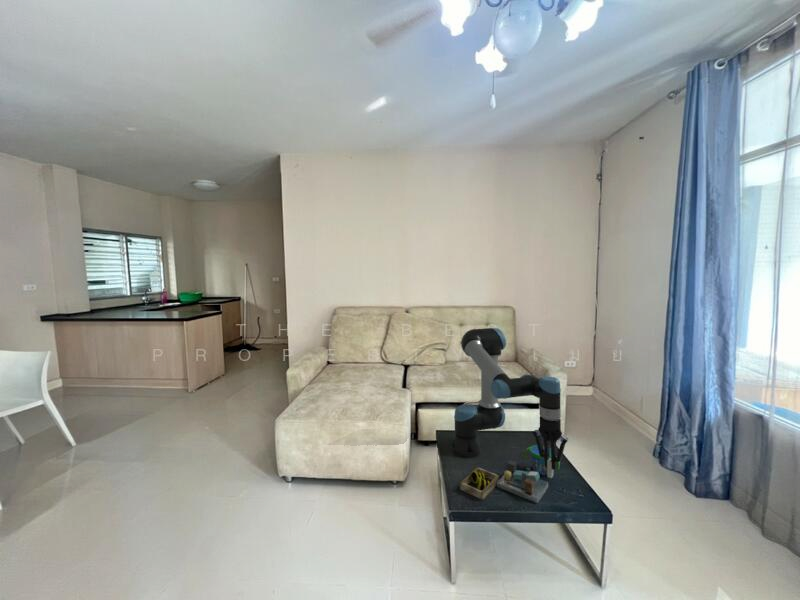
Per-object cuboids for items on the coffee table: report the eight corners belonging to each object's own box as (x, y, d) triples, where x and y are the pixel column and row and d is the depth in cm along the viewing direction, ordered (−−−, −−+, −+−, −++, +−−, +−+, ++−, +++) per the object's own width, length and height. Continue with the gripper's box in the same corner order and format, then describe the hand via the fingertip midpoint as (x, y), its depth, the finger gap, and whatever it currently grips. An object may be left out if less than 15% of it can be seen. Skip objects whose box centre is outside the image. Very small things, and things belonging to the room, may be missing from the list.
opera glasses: (489, 493, 138) (491, 482, 138) (478, 492, 137) (480, 481, 137) (480, 480, 147) (482, 469, 147) (469, 479, 146) (471, 468, 146)
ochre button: (503, 478, 144) (503, 472, 143) (505, 475, 146) (505, 469, 146) (509, 480, 142) (509, 475, 141) (512, 477, 144) (512, 472, 144)
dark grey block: (507, 471, 148) (507, 463, 148) (510, 468, 151) (510, 460, 150) (513, 474, 146) (513, 465, 146) (516, 471, 149) (516, 462, 149)
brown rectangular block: (524, 490, 134) (524, 481, 134) (527, 487, 137) (527, 478, 136) (531, 493, 132) (531, 484, 132) (534, 490, 135) (534, 480, 135)
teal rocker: (514, 478, 143) (512, 473, 143) (517, 474, 146) (516, 469, 146) (536, 481, 136) (535, 475, 137) (539, 477, 139) (538, 471, 140)
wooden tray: (460, 489, 140) (460, 482, 140) (477, 473, 152) (477, 467, 151) (482, 499, 133) (482, 492, 133) (499, 482, 145) (499, 475, 144)
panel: (497, 486, 141) (496, 471, 141) (510, 472, 152) (509, 458, 152) (537, 503, 130) (537, 486, 130) (548, 486, 141) (548, 471, 140)
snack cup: (563, 473, 150) (563, 451, 150) (554, 483, 143) (554, 460, 142) (529, 460, 161) (529, 440, 161) (520, 469, 154) (520, 448, 154)
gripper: (529, 416, 129) (530, 474, 130) (565, 424, 121) (565, 486, 121) (536, 410, 135) (536, 466, 136) (570, 418, 126) (571, 477, 127)
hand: (550, 476), depth 129 cm, fingers closed
